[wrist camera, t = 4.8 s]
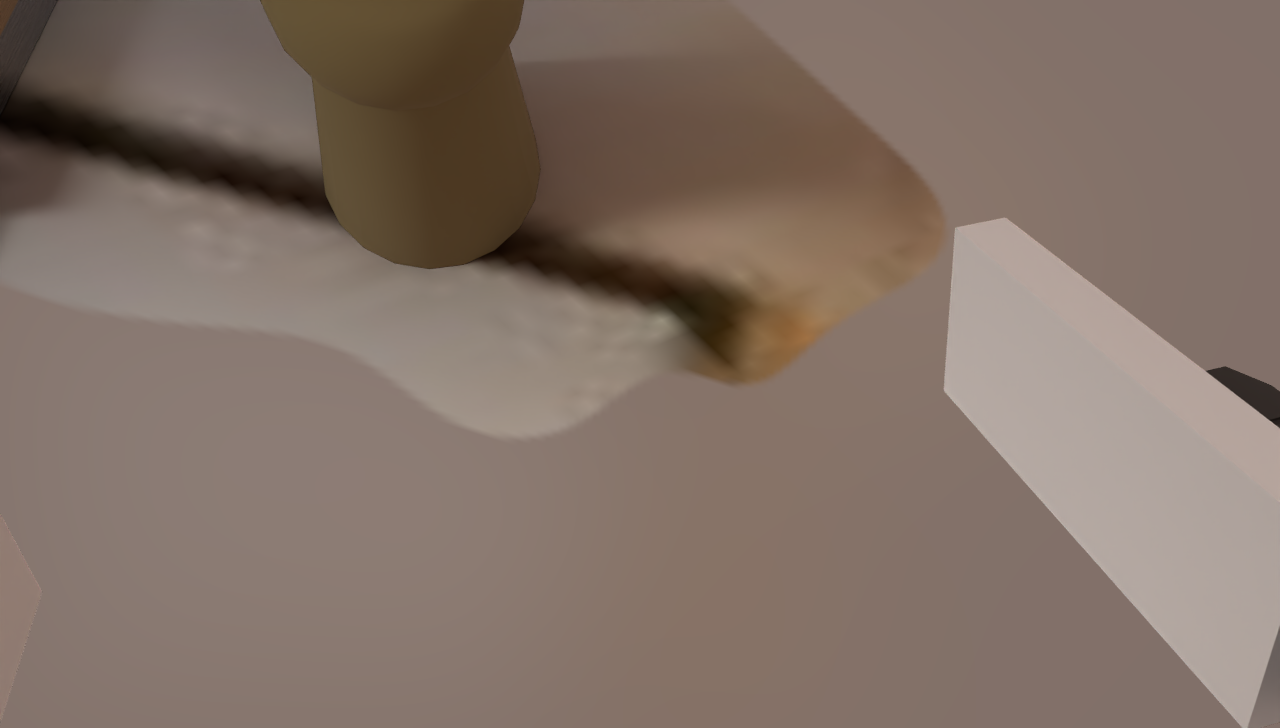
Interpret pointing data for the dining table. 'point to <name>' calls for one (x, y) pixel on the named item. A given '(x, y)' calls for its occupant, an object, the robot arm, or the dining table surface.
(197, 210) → the dining table surface
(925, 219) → the dining table surface
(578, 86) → the dining table surface
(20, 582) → the robot arm
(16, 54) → the slotted wooden plate
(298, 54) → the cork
